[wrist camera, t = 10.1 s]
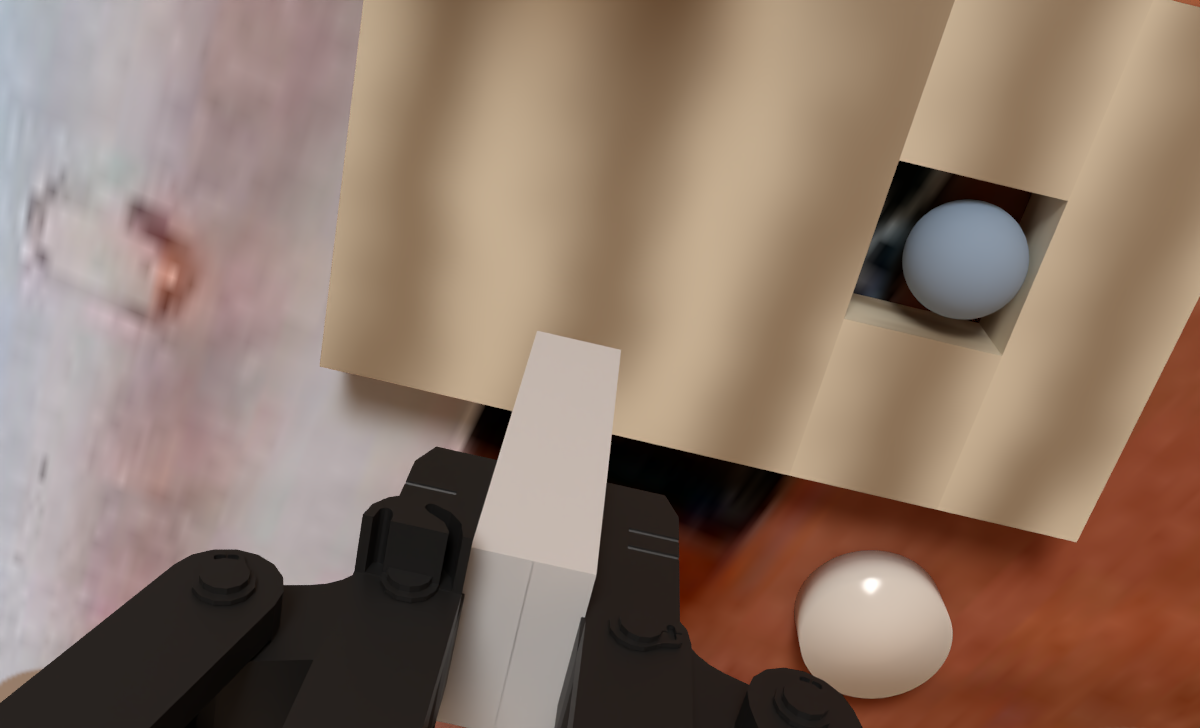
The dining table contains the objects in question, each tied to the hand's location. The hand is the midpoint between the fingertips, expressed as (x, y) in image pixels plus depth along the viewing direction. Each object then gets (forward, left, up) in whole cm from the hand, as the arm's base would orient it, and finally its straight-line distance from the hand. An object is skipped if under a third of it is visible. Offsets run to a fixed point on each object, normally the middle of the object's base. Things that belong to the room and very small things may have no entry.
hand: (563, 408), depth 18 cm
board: (+5, 0, -20) cm, 20 cm away
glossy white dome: (+14, -16, -20) cm, 29 cm away
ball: (+12, 0, -18) cm, 21 cm away
